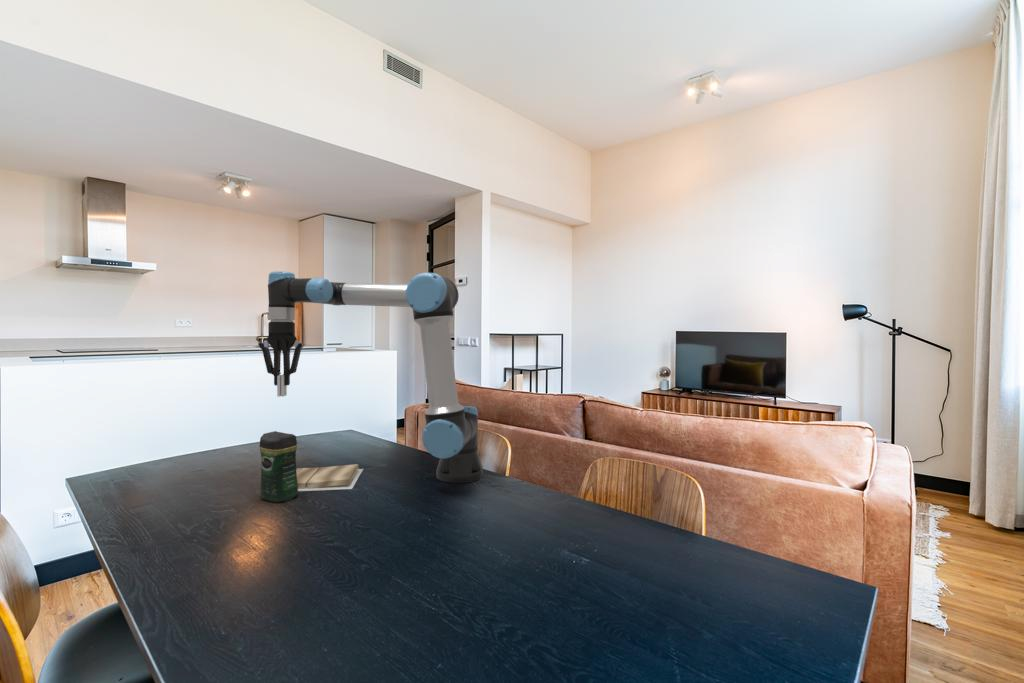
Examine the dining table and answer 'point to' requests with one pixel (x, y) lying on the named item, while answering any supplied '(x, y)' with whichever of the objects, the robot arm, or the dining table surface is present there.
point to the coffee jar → (278, 466)
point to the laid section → (304, 476)
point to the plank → (333, 476)
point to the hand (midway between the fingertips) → (282, 395)
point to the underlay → (338, 485)
